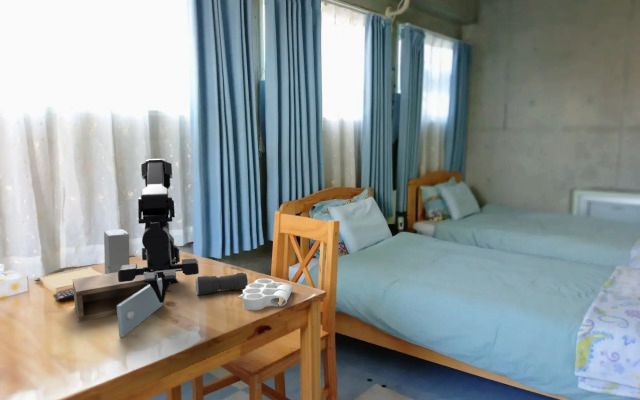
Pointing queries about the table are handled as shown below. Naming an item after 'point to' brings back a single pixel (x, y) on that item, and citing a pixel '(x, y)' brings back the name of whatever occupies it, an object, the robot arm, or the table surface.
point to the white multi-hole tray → (265, 294)
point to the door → (137, 308)
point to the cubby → (103, 294)
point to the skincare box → (116, 250)
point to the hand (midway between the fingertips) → (161, 302)
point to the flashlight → (220, 283)
